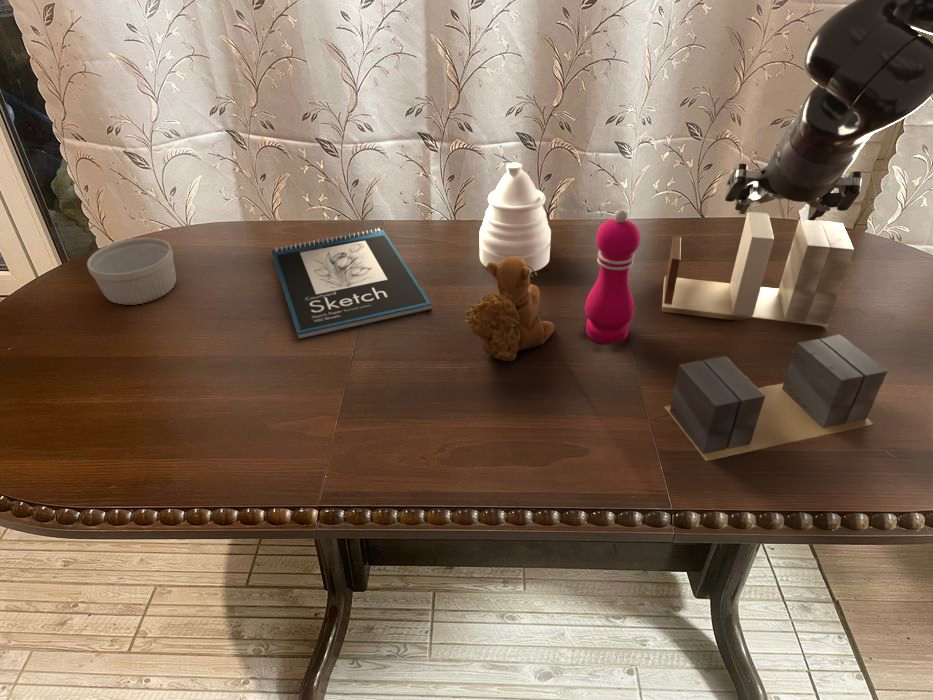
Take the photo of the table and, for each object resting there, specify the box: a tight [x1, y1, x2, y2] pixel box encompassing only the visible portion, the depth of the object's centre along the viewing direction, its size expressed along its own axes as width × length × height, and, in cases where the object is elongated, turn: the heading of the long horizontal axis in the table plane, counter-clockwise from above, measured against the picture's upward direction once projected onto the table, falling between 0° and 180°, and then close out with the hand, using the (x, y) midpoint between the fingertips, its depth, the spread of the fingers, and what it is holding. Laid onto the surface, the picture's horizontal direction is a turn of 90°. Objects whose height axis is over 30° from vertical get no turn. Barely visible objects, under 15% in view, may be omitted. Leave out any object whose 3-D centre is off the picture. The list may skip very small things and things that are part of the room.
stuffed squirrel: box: [464, 256, 555, 362], centre depth 94 cm, size 10×14×13 cm
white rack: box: [661, 218, 855, 330], centre depth 101 cm, size 24×10×14 cm, turn 74°
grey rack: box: [664, 334, 888, 462], centre depth 80 cm, size 23×10×8 cm, turn 104°
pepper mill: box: [584, 209, 641, 345], centre depth 94 cm, size 7×7×20 cm
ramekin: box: [86, 237, 177, 305], centre depth 111 cm, size 13×13×7 cm
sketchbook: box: [271, 227, 433, 340], centre depth 114 cm, size 22×30×2 cm
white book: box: [730, 211, 775, 316], centre depth 101 cm, size 3×9×13 cm, turn 165°
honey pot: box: [478, 162, 552, 273], centre depth 115 cm, size 13×13×18 cm
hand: (776, 210), depth 87 cm, fingers open, 8 cm apart
